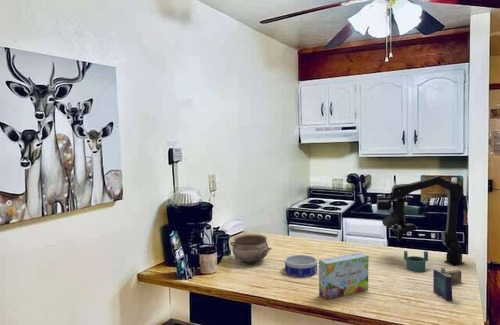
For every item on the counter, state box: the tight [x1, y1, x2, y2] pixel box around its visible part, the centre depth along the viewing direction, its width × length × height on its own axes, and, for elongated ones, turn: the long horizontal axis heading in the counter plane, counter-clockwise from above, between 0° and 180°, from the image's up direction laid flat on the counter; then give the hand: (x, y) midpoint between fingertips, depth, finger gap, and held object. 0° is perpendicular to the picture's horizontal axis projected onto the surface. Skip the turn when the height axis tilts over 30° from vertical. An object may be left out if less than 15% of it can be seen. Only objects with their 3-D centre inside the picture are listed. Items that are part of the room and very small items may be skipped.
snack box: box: [318, 252, 369, 301], centre depth 157 cm, size 21×6×15 cm, turn 114°
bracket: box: [403, 250, 429, 273], centre depth 181 cm, size 9×9×9 cm
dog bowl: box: [284, 254, 318, 278], centre depth 183 cm, size 15×15×6 cm
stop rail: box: [446, 269, 462, 285], centre depth 163 cm, size 12×2×5 cm, turn 107°
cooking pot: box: [229, 233, 273, 265], centre depth 200 cm, size 25×19×12 cm
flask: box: [432, 267, 453, 302], centre depth 151 cm, size 10×3×12 cm, turn 8°
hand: (398, 241), depth 192 cm, fingers closed
